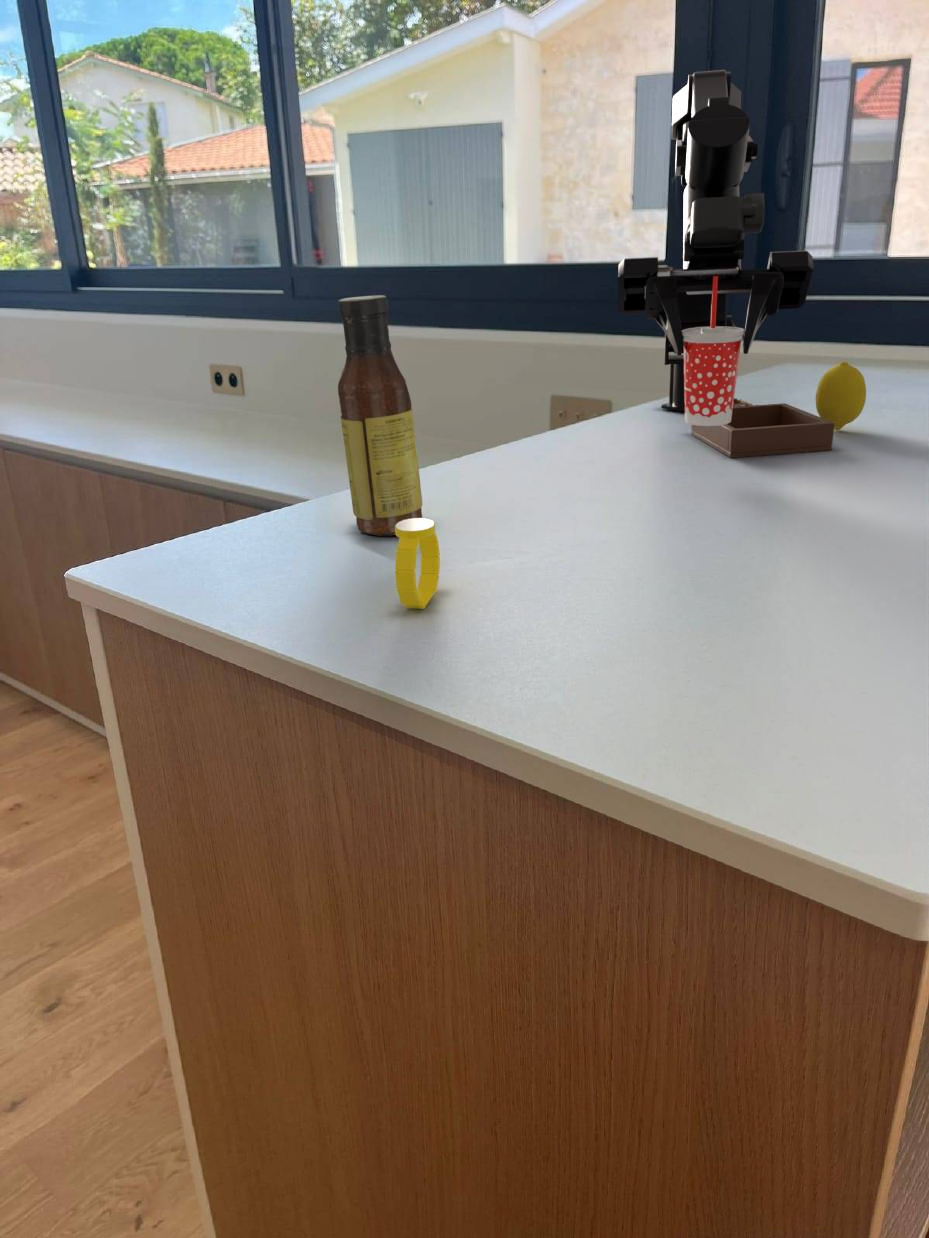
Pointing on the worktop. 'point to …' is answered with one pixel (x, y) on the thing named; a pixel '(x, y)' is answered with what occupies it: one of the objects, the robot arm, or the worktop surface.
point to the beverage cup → (710, 370)
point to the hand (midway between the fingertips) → (712, 352)
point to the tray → (768, 431)
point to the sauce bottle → (376, 421)
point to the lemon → (841, 395)
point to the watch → (410, 538)
